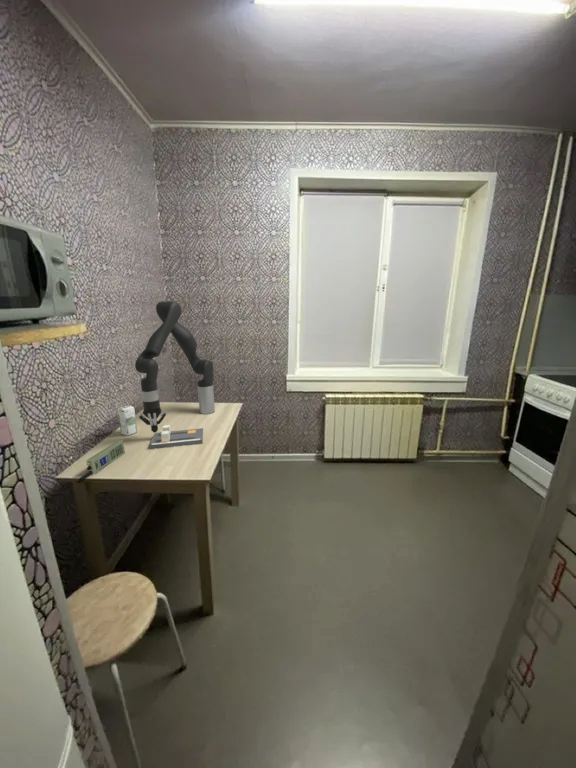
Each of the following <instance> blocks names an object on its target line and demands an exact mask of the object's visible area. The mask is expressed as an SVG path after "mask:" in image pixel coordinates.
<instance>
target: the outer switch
mask: <svg viewBox="0 0 576 768" xmlns="http://www.w3.org/2000/svg"><path fill="white" fill-rule="evenodd" d="M161 432H162V433H161V438H162V442H167V441H169V440H170V434H169V431H163V430H162V431H161Z"/></svg>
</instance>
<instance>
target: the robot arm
mask: <svg viewBox="0 0 576 768" xmlns="http://www.w3.org/2000/svg"><path fill="white" fill-rule="evenodd" d="M155 310H156V314H157V316H158V317H159V320H161V322H162V324H161V325H160V326H159V327H158V328H157V329H156V330H155V331H154V332H153V333H152V334H151V335H150V337H149V339H148V341H147V343H146V347H145V349H144V350H142V352H141V353H140V354H139V356H138V357H137V359H136V360H135V364H134V368H135V370H136V371H137V372H138V373H140V374H146V376H145V377H144V378H142V379H140V387H141V400H142V405H143V411H142V414H139V416H138V418H139V419H140V420H141V421H142V422H143V423H144V424H146V426H150V428H151V432H153V433H158V430H159V427H158V425H160V424H161V423H162V422H163V420H164V419H165V417H166V416H167V412H165V411H163V410H162V408H161V404H160V403H161V402H160V395H159V390H158V383H157V379H158V373H159V363H158V362H157V361H156V360H155V359H154V358H157V357H159V356H160V355H161V353H162V350H163V347H164V345H165V343H166V341H167V339H168V337H169V335H170V333H171V335H172V336H173V338H174V339H175V340H176V342H177V345H179V347H180V349H181V350H182V352H183V353H184V355H185V358H186V359H187V361H189V365H190V366H191V368H192V370H193V372H194V373H195V374H196V375H203V377H202V379H199V380H198V381H197V385H196V386H197V394H198V395H197V396H198V408H199V414H202V415H208V414H209V415H210V414H213V413H215V411H216V408H215V396H214V395H215V394H214V393H215V392H214V364H213V362H212V360H210V359H202V358H200V357H199V356H198V354H197V348H198V347H197V346H198V343H197V340H196V339H195V336H194V335H193V334H192V332H191V331H190V330H189V329H188V328H187V327H185V326H183V324H182V323H180V322H179V320H180V317H181V316H182V306H181V304H180V303H179V302H177V301H170V300H169V301H166V300H165V301H160V302H158V303H156V306H155ZM159 416H160V418H159Z"/></svg>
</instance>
